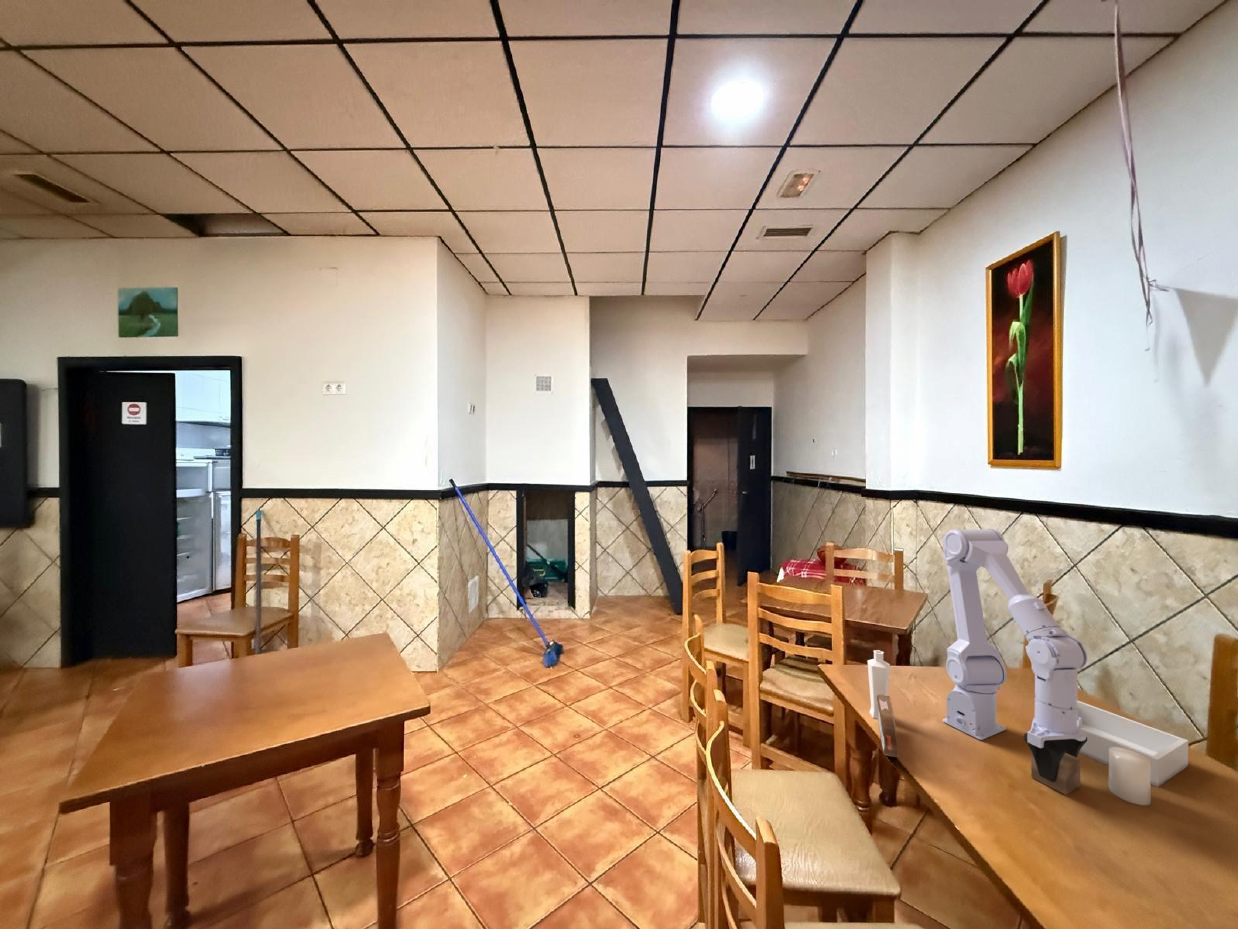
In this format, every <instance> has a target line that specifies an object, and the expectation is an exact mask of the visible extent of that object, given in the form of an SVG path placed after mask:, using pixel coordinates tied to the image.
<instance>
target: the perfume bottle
mask: <svg viewBox="0 0 1238 929" xmlns="http://www.w3.org/2000/svg"><path fill="white" fill-rule="evenodd" d="M884 653H885V652H884V651H881V650H879V649H878V650H877V649H876V650H873V658H872V659H869V660H867V670H868V671H867V672H868V682H869V683H868V685H869V695H870V696H869V698H870V706H871V707H870V710H869V714H870V716H871V718H873V719H877V720H878V712H879V710H878V702H877V695H884V696H889V695H888V694H889V682H890V667H891V665H890V663H888V662H886V661H885V660H884Z"/></svg>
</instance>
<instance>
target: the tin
mask: <svg viewBox="0 0 1238 929" xmlns="http://www.w3.org/2000/svg"><path fill="white" fill-rule="evenodd" d="M877 702H878V710H879V712H878V719H877V720H878V726H879V728H878V729H879V734H880V735H879V736H880V742H881V749H882V752H883V755H884V756H888V757H891V758H897V759H899V758H900V757H899V743H898V733H897V725H896V720H895V714H894V708H893V703H892V700H891V696H890V695H888V696H884V695H877Z"/></svg>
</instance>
